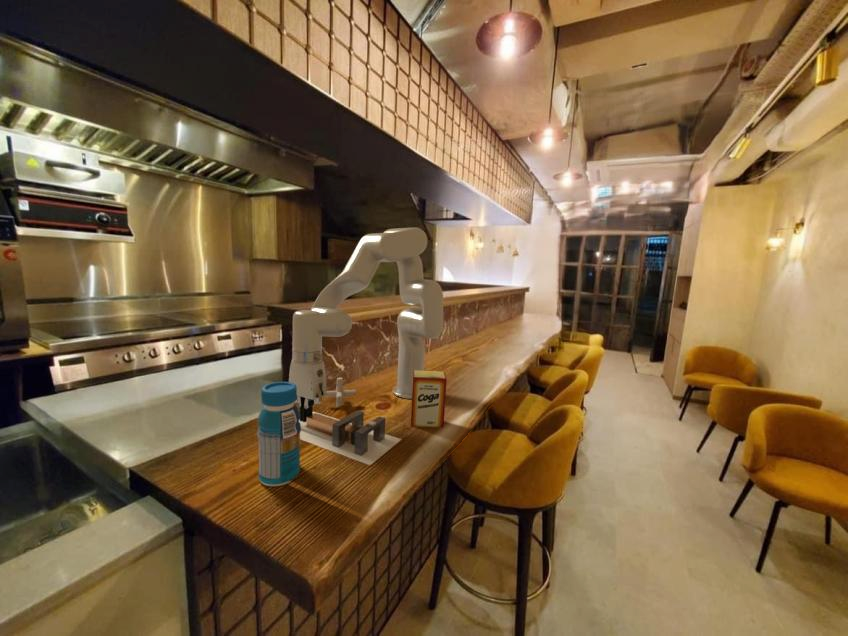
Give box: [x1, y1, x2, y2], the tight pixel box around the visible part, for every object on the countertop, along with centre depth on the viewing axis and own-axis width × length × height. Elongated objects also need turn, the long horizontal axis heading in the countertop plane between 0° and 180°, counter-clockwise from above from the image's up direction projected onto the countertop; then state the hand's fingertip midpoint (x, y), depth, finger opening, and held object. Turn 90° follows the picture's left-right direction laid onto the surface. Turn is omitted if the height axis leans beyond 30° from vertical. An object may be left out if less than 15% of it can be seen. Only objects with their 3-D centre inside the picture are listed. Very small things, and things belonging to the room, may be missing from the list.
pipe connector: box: [322, 377, 357, 407], centre depth 107 cm, size 10×10×10 cm
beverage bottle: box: [256, 381, 301, 487], centre depth 71 cm, size 8×8×20 cm
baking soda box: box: [410, 370, 448, 429], centre depth 98 cm, size 10×6×16 cm
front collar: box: [355, 416, 386, 456], centre depth 84 cm, size 10×2×6 cm, turn 153°
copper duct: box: [306, 412, 361, 445], centre depth 88 cm, size 18×3×3 cm, turn 63°
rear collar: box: [332, 409, 365, 448], centre depth 87 cm, size 10×2×6 cm, turn 153°
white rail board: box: [299, 411, 402, 466], centre depth 90 cm, size 14×34×2 cm, turn 63°
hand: (306, 419), depth 93 cm, fingers closed
